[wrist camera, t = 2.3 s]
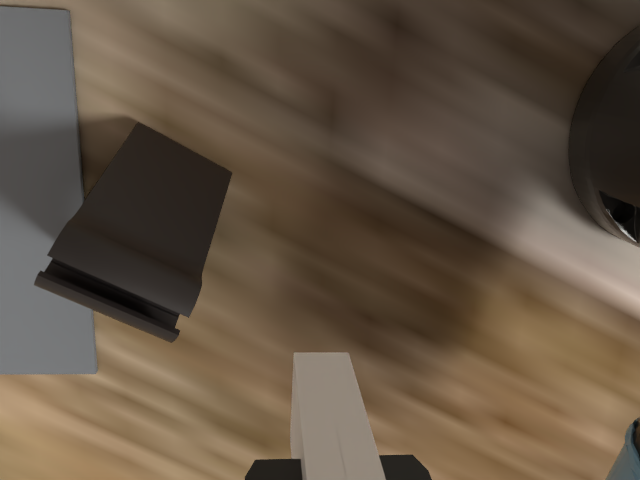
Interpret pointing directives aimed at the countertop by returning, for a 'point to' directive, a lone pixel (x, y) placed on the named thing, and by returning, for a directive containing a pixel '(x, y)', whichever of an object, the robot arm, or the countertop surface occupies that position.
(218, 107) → the countertop surface
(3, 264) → the mat
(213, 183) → the phone stand
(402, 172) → the countertop surface
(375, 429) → the countertop surface
